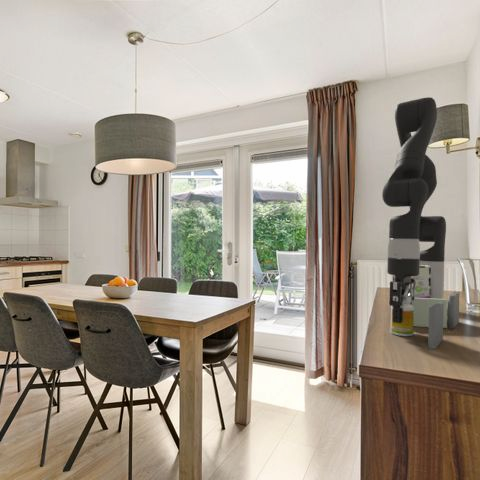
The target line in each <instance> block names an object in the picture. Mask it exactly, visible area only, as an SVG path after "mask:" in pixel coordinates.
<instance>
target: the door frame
mask: <svg viewBox="0 0 480 480" xmlns="http://www.w3.org/2000/svg"><path fill="white" fill-rule="evenodd" d="M443 306H444V303H439V302H438V303H436V304H435V305H433V306H431V307H430V308H429V327H428V342H427V343H428V344H427V345H428V346H427V349H432V350H435V349H436V348H438V346H439V345H440V343H442V342H443V340H444V328H443ZM459 322H460V291H459V292H458V291H454V292H452V293H451V294H449V295H447V328H446V329H448V330H449V329H450V330H454V329H455V327H456V326H457V325H458V324H459Z"/></svg>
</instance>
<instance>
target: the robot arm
mask: <svg viewBox="0 0 480 480" xmlns="http://www.w3.org/2000/svg"><path fill="white" fill-rule="evenodd" d="M437 118H438V108H437V103H436V100H435V99H434V98H433V97H428V96H427V97H422V98H417V99H412V100H409V101H404V102H399V103H398V104H397V105H396V107H395V109H394V121H395V126H396V131H397V136H398V140H399V146H400V149H399V151H398V153H397V155H396V160H395V165H394V169H393V171H392V173H390V175H389V177H388V179H387V180H386V182H385V183H384V185H383V189H382V195H381V196H382V200H383V202H384V204H386V206H388V207H393V208H401V207H403V208H406V207H409V210H408V212H407V213H404V214H400V215H395V216H392V217H391V218H390V220H389V225H388V228H389V230H388V231H389V233H388V235H389V236H388V237H389V238H388V243H387V264H386V265H387V266H386V267H387V271H386V272H387V274H388V275H391V276H392V275H395V280H394V282H393V281H391V280H390V282H389V302H388V303H389V306H390V307H391V306H392V307H393V322H394V323H402V322H403V306H404V301H406V300H407V296H410V297H411V303H410V305H411V304H412V303H413V301H414V284H415V279H414V278H411V276H418V275H419V269H420V265H427V266H431V289H430V298H434V299H445V297H444V296H445V295H444V293H445V288H444V287H445V249H446V246H445V245H446V234H447V221H446V219H445V217H444V216H442V215H438V216H437V215H434V216H433V215H429V216H423V215H422V213H423V209H424V207H425V205H426V203H427V202H428V200H429V199H430V198H431V197H432V195H433V193H434V192H435V190H436V188H437V184H438V182H437V181H438V180H437V170H436V165H435V164H434V162H433V161H432V159H431V158H430V157H429V156H428V155H427V154H426V153H427V149H428V147H429V144H430V141H431V138H432V136H433V134H434V130H435V127H436V124H437V120H438V119H437ZM412 133H413V135H412ZM422 242H424V243H434V244H433V245H432V246H431V247H430V248H427V249H425V250H421V247H420V245H421V244H420V243H422ZM409 292H410V293H409ZM396 300H398V301H396ZM412 300H413V301H412Z"/></svg>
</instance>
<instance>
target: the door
mask: <svg viewBox="0 0 480 480" xmlns="http://www.w3.org/2000/svg"><path fill="white" fill-rule="evenodd" d="M412 301H413V300H412ZM438 302H439V303H444V306H443V329H445V328H446V329H448V328H447V308H448V298H447V299H446V298H444V299H434V298H414V301H413V303H412V304H411V305H412V306H413V307H414V327H423V328H424V327H426V328H429V308H430V307H431V306H433V305H435V304H436V303H438Z"/></svg>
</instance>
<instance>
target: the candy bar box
mask: <svg viewBox="0 0 480 480" xmlns="http://www.w3.org/2000/svg"><path fill="white" fill-rule="evenodd" d="M391 276H392V281H393V282H394V280H395V275H391ZM411 278H414V279H415V284H414V298H430V289H431V266H427V265H420V269H419V275H418V276H411ZM409 293H410V292H409Z"/></svg>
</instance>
